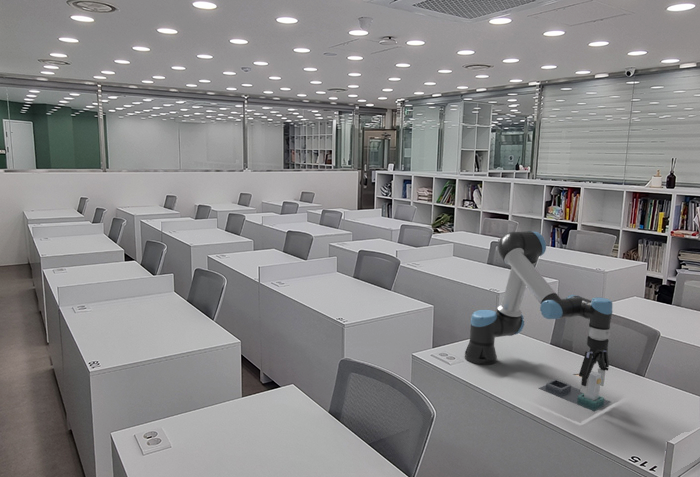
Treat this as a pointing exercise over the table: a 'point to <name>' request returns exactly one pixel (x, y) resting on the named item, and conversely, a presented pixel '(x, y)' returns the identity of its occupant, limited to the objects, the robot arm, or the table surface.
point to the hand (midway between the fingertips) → (592, 388)
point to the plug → (593, 386)
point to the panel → (573, 395)
